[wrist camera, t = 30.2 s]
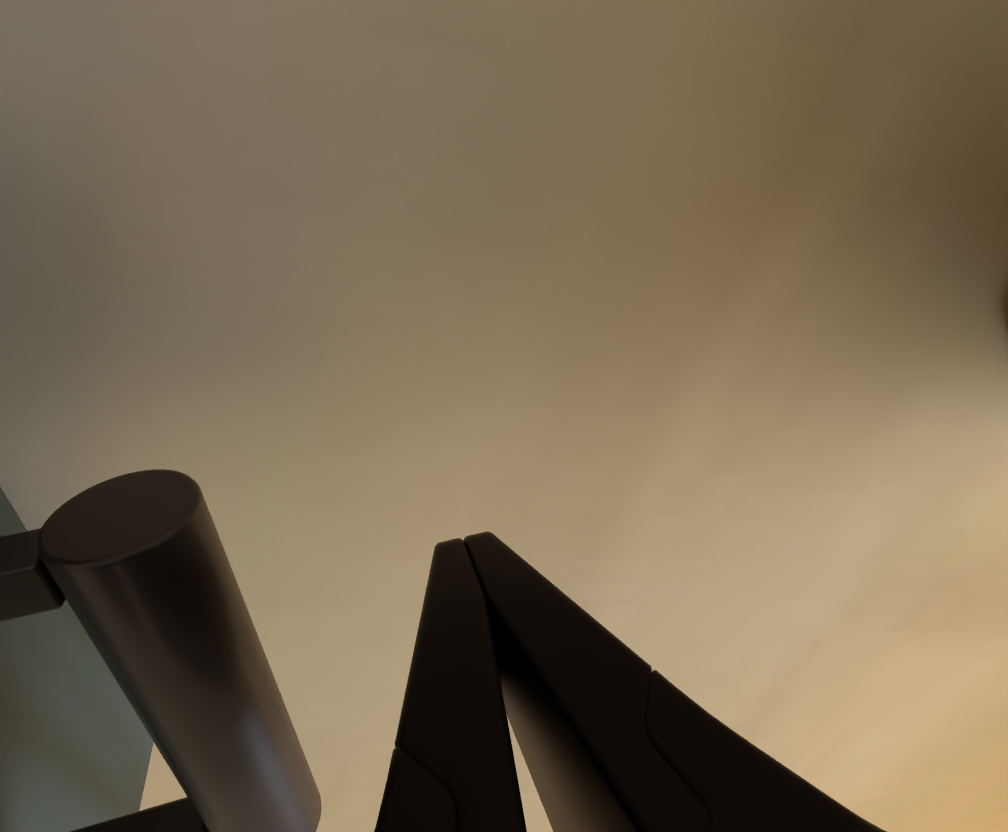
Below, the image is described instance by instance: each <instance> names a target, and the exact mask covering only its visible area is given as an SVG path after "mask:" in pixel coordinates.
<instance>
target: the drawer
mask: <svg viewBox="0 0 1008 832" xmlns="http://www.w3.org/2000/svg"><path fill="white" fill-rule="evenodd" d="M153 742H154V743H155V745H156V746H157V748H158V749H159V751H160V753H161V754H162V756H163V758H164V759H165V761H166V762H167V764H168V766H169V767H170V769H171V771H172V772H173V774H174V775H175V777H176V779H177V780H178V782H179V784H180V785H181V787H182V788H183V790H184V792H185V793H186V795H187V797H186V798H183V799H179V800H176V801H172V802H169V803H166V804H162V805H159V806H155V807H152V808H148V809H145V810H142V811H139V809H140V804H141V799H142V794H143V790H144V785H145V780H146V775H147V770H148V766H149V761H150V756H151V751H152V747H153ZM320 815H321V798H320V794H319V791H318V788H317V786H316V783H315V781H314V778H313V776H312V773H311V771H310V768H309V765H308V763H307V760H306V758H305V755H304V753H303V750H302V748H301V745H300V742H299V740H298V737H297V735H296V732H295V730H294V727H293V725H292V722H291V719H290V717H289V714H288V712H287V709H286V707H285V704H284V702H283V699H282V696H281V694H280V691H279V689H278V686H277V684H276V681H275V678H274V676H273V673H272V671H271V668H270V666H269V663H268V661H267V658H266V655H265V653H264V650H263V648H262V645H261V643H260V640H259V638H258V635H257V632H256V630H255V627H254V625H253V622H252V620H251V617H250V615H249V612H248V609H247V607H246V604H245V602H244V599H243V597H242V594H241V592H240V589H239V586H238V584H237V581H236V579H235V576H234V574H233V571H232V569H231V566H230V563H229V561H228V558H227V556H226V553H225V551H224V548H223V546H222V543H221V540H220V538H219V535H218V533H217V530H216V528H215V525H214V523H213V520H212V517H211V515H210V512H209V510H208V507H207V505H206V502H205V500H204V497H203V494H202V492H201V489H200V487H199V485H198V484H197V483H196V482H195V481H194V480H193V479H192V478H190V477H189V476H187V475H185V474H183V473H181V472H177V471H172V470H145V471H138V472H133V473H128V474H125V475H121V476H118V477H115V478H112V479H109V480H106V481H104V482H101V483H99V484H97V485H94V486H92V487H90V488H88V489H86V490H85V491H83V492H81V493H79V494H78V495H76V496H74V497H73V498H71V499H70V500H68V501H67V502H66V503H64V504H63V505H62V506H61V507H59V508H58V509H57V510H56V511H55V512H54V513H53V514H52V515H51V516H50V517H49V518H48V520H47V521H46V522H45V524H44V525H43V527H42V528H40V529H35V530H30V531H27V530H26V528H25V526H24V525H23V523H22V521H21V520H20V518H19V516H18V515H17V513H16V512H15V510H14V508H13V507H12V505H11V503H10V502H9V500H8V498H7V497H6V495H5V494H4V492H3V490H2V489H1V487H0V832H316V829H317V827H318V824H319V820H320Z"/></svg>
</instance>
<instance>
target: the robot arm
mask: <svg viewBox="0 0 1008 832" xmlns="http://www.w3.org/2000/svg"><path fill="white" fill-rule="evenodd" d="M651 671H652V668H651V666H650V665H649V664H648V663H646V662H645V661H644V660H643V659H642V658H640V657H639V656H638V655H637V654H636V653H634V652H633V651H632V650H631V649H630V648H629V647H627V646H626V645H625V644H624V643H623V642H621V641H620V640H619V639H618V638H617V637H615V636H614V635H613V634H612V633H611V632H609V631H608V630H607V629H606V628H605V627H603V626H602V625H601V624H600V623H599V622H597V621H596V620H595V619H594V618H593V617H591V616H590V615H589V614H588V613H587V612H586V611H584V610H583V609H582V608H581V607H580V606H578V605H577V604H576V603H575V602H574V601H572V600H571V599H570V598H569V597H568V596H566V595H565V594H564V593H563V592H562V591H560V590H559V589H558V588H557V587H556V586H554V585H553V584H552V583H551V582H550V581H549V580H547V579H546V578H545V577H544V576H543V575H541V574H540V573H539V572H538V571H537V570H535V569H534V568H533V567H532V566H531V565H529V564H528V563H527V562H526V561H525V560H523V559H522V558H521V557H520V556H519V555H517V554H516V553H515V552H514V551H513V550H512V549H510V548H509V547H508V546H507V545H506V544H504V543H503V542H502V541H501V540H500V539H498V538H497V537H496V536H495V535H494V534H492V533H490V532H483V533H478V534H474V535H470V536H467V537H465V539H464V541H463V540H462V539H460V538H457V539H453V540H448V541H444V542H440V543H438V544H437V545H436V546H435V549H434V554H433V559H432V564H431V569H430V574H429V579H428V583H427V588H426V593H425V598H424V603H423V608H422V613H421V618H420V623H419V628H418V633H417V637H416V642H415V647H414V652H413V657H412V662H411V667H410V672H409V677H408V682H407V687H406V691H405V696H404V701H403V706H402V711H401V716H400V721H399V726H398V731H397V736H396V741H395V749H394V750H393V754H392V758H391V763H390V768H389V773H388V778H387V782H386V786H385V791H384V795H383V799H382V803H381V807H380V812H379V816H378V820H377V824H376V828H375V831H374V832H527V831H526V825H525V819H524V813H523V807H522V802H521V796H520V790H519V784H518V779H517V773H516V767H515V761H514V755H513V750H512V744H511V738H510V732H509V727H508V721H507V716H508V719H509V721H510V724H511V726H512V729H513V731H514V734H515V736H516V739H517V741H518V744H519V746H520V749H521V751H522V754H523V756H524V759H525V761H526V764H527V766H528V769H529V772H530V774H531V777H532V779H533V782H534V784H535V787H536V789H537V792H538V794H539V797H540V799H541V802H542V804H543V807H544V809H545V812H546V814H547V817H548V819H549V822H550V824H551V827H552V829H553V832H887V831H884V830H882V829H880V828H879V827H877V826H875V825H873V824H871V823H870V822H868V821H866V820H864V819H863V818H861V817H859V816H858V815H856V814H855V813H853V812H852V811H850V810H849V809H847V808H845V807H844V806H842V805H841V804H840V803H838V802H837V801H835V800H834V799H832V798H831V797H829V796H828V795H826V794H825V793H823V792H822V791H820V790H819V789H817V788H816V787H815V786H813V785H812V784H810V783H809V782H807V781H806V780H804V779H803V778H801V777H800V776H798V775H797V774H795V773H794V772H792V771H791V770H790V769H788V768H787V767H785V766H784V765H782V764H781V763H779V762H778V761H776V760H775V759H773V758H772V757H770V756H769V755H767V754H766V753H765V752H763V751H762V750H760V749H759V748H757V747H756V746H754V745H753V744H751V743H750V742H748V741H747V740H746V739H744V738H743V737H741V736H740V735H739V734H737V733H736V732H734V731H733V730H731V729H730V728H729V727H727V726H726V725H724V724H723V723H722V722H720V721H719V720H717V719H716V718H715V717H713V716H712V715H710V714H709V713H708V712H707V711H705V710H704V709H703V708H702V707H700V706H699V705H698V704H697V703H695V702H694V701H693V700H692V699H690V698H689V697H688V696H686V695H685V694H684V693H683V692H681V691H680V690H679V689H678V688H676V687H675V686H674V685H673V684H672V683H670V682H669V681H668V680H667V679H666V678H665V677H663V676H662V675H661V674H660V673H659V672H658V671H656V670H654V671H652V673H651ZM506 714H507V715H506Z"/></svg>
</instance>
